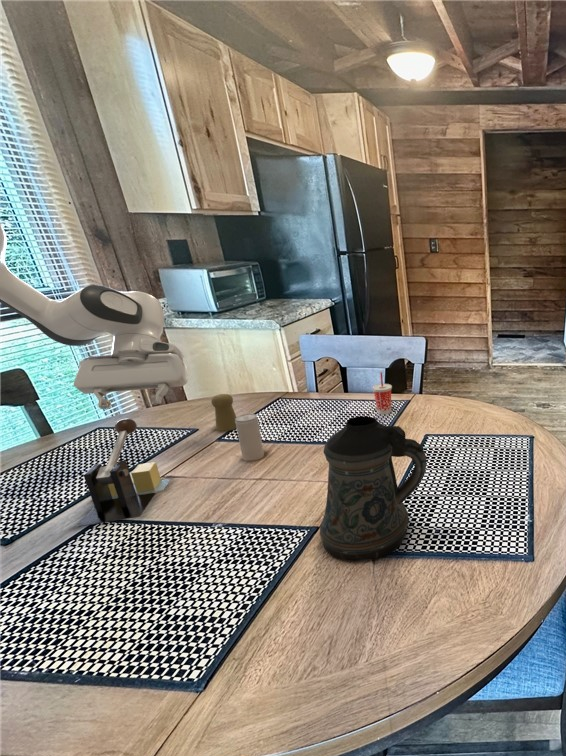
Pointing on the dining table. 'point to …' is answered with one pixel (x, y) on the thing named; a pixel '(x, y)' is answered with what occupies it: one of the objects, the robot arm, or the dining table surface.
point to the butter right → (146, 477)
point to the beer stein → (367, 489)
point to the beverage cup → (382, 397)
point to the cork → (224, 412)
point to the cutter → (105, 504)
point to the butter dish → (159, 488)
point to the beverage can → (249, 437)
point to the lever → (116, 449)
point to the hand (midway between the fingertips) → (130, 405)
